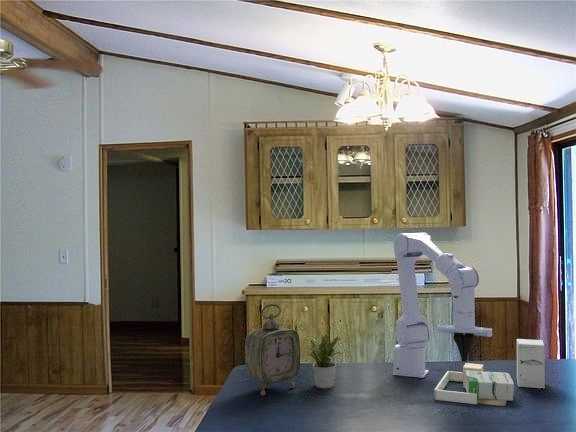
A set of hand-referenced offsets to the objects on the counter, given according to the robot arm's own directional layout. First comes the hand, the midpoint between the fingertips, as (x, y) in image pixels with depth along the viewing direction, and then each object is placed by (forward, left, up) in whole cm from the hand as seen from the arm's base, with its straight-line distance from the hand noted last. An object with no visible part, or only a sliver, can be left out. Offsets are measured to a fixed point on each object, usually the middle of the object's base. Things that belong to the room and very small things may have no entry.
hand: (464, 360), depth 168 cm
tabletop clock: (-52, -15, -10) cm, 55 cm away
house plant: (-38, -6, -10) cm, 40 cm away
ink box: (0, 0, -6) cm, 7 cm away
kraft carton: (+1, +10, -10) cm, 14 cm away
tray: (-2, +4, -10) cm, 10 cm away
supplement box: (+16, +17, -10) cm, 25 cm away
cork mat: (+6, 0, -10) cm, 11 cm away
